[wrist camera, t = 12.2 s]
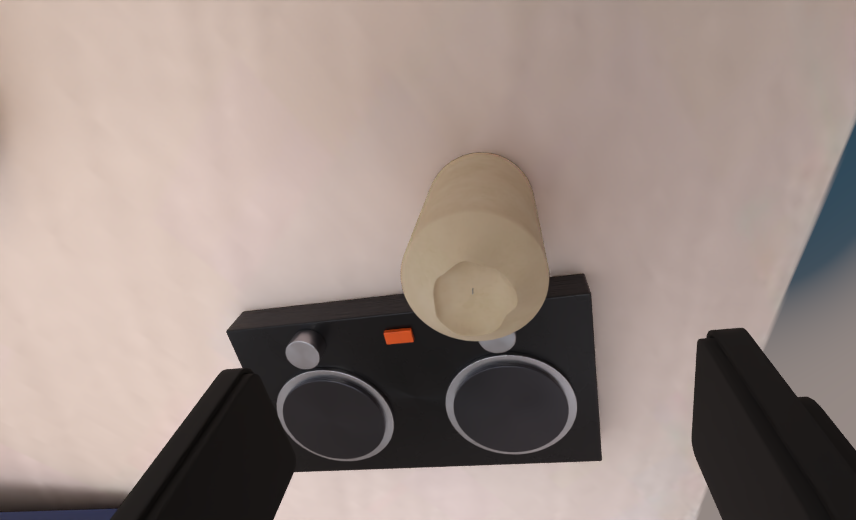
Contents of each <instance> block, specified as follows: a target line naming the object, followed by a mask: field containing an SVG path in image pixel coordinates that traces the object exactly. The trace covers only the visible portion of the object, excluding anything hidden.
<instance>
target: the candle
mask: <svg viewBox="0 0 856 520" xmlns="http://www.w3.org/2000/svg"><path fill="white" fill-rule="evenodd" d="M401 284H402V289H403V292H404V295H405V298H406V300H407V302H408V304H409V305H410V307H411V308H412V310H413V311H414V313H415V314H416V315H417V316H418V317H419V318H420V319H421V320H422V321H423V322H424V323H425V324H427V325H428V326H430V327H431V328H432V329H434V330H436V331H438V332H440V333H442V334H444V335H447V336H449V337H452V338H456V339H460V340H466V341H487V340H494V339H498V338H502V337H504V336H507V335H510V334H512V333H514V332H515V331H517V330H519V329H521V328H522V327H523V326H525V325H526V324H527V323H528V322H529V321H531V320H532V319H533V317H534V316H535V315H536V314H537V313H538V311H539V310H540V308H541V307H542V305H543V303H544V300H545V298H546V295H547V292H548V287H549V269H548V263H547V258H546V253H545V248H544V244H543V239H542V234H541V229H540V224H539V219H538V214H537V210H536V205H535V200H534V195H533V192H532V189H531V186H530V183H529V181H528V179H527V178H526V176H525V175H524V173H523V172H522V171H521V170H520V169H519V168H518V167H517V166H516V165H515V164H514V163H512V162H511V161H509V160H508V159H506V158H504V157H501V156H499V155H495V154H491V153H471V154H467V155H464V156H461V157H459V158H457V159H455V160H453V161H452V162H450V163H449V164H447V165H446V166H445V167H444V168H443V169H442V170H441V171H440V172H439V173H438V175H437V176H436V178H435V179H434V181H433V183H432V185H431V188H430V190H429V192H428V195H427V197H426V200H425V202H424V205H423V207H422V210H421V213H420V215H419V218H418V220H417V223H416V225H415V228H414V230H413V233H412V235H411V238H410V241H409V243H408V246H407V248H406V251H405V253H404V256H403V260H402V264H401Z"/></svg>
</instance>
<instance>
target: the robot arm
mask: <svg viewBox="0 0 856 520" xmlns="http://www.w3.org/2000/svg"><path fill="white" fill-rule="evenodd" d="M692 446H693V451H694V454H695V457H696V460H697V462H698V464H699V467H700V469H701V471H702V474H703V476H704V478H705V480H706V483H707V485H708V487H709V489H710V492H711V494H712V497H713V499H714V501H715V503H716V506H717V508H718V510H719V513H720V515H721V517H722V519H723V520H856V450H855V449H854V448H853V447H852V445H851V444H850V443H849V442H848V440H847V439H846V438H845V437H844V435H843V434H842V433H841V432H840V430H839V429H838V428H837V427H836V425H835V424H834V423H833V421H832V420H831V419H830V418H829V416H828V415H827V414H826V413H825V411H824V410H823V409H822V408H821V407H820V406H819V405H818V404H817V403H816V402H815V401H814V400H813V399H811V398H809V397H797V396H796V395H795V394H794V392H793V391H792V390H791V388H790V387H789V386H788V384H787V383H786V382H785V380H784V379H783V378H782V377H781V375H780V374H779V372H778V371H777V370H776V368H775V367H774V366H773V364H772V363H771V362H770V361H769V359H768V358H767V357H766V355H765V354H764V353H763V351H762V350H761V349H760V347H759V346H758V345H757V343H756V342H755V341H754V339H753V338H752V337H751V335H750V334H749V333H748V332H747V331H746V330H745V329H744V328H733V329H721V330H710V331H709V332H708V334H707V338H704V339H699V340H698V342H697V353H696V371H695V388H694V405H693V422H692ZM295 467H296V455H295V452H294V450H293V448H292V446H291V444H290V441H289V439H288V437H287V435H286V433H285V430H284V428H283V426H282V424H281V422H280V419H279V417H278V415H277V413H276V411H275V408H274V406H273V404H272V402H271V400H270V397H269V395H268V393H267V391H266V389H265V386H264V384H263V382H262V380H261V378H260V376H259V375H258V374H254V372H253V371H252V370H251V369H250V368H238V369H226V370H223V371H222V372H221V373H220V374H219V375H218V376H217V377H216V379H215V380H214V381H213V383H212V384H211V385H210V387H209V388H208V389H207V391H206V392H205V393H204V395H203V396H202V397H201V399H200V400H199V401H198V403H197V404H196V405H195V407H194V408H193V409H192V411H191V412H190V413H189V415H188V416H187V417H186V419H185V420H184V421H183V423H182V424H181V425H180V427H179V428H178V429H177V431H176V432H175V433H174V435H173V436H172V437H171V439H170V440H169V441H168V443H167V444H166V445H165V447H164V448H163V449H162V451H161V452H160V453H159V455H158V456H157V457H156V459H155V460H154V461H153V463H152V464H151V465H150V467H149V468H148V469H147V471H146V472H145V473H144V475H143V476H142V477H141V479H140V480H139V481H138V483H137V484H136V485H135V487H134V488H133V489H132V491H131V492H130V493H129V495H128V496H127V497H126V499H125V500H124V501H123V503H122V504H121V505H120V507H119V508H118V509H117V511H116V512H115V513H114V515H113V516H112V517H111V519H110V520H273V519H274V517H275V514H276V512H277V510H278V508H279V505H280V503H281V501H282V498H283V496H284V494H285V491H286V489H287V487H288V485H289V482H290V480H291V478H292V475H293V473H294V470H295Z"/></svg>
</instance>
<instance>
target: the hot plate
mask: <svg viewBox="0 0 856 520" xmlns="http://www.w3.org/2000/svg"><path fill="white" fill-rule="evenodd" d="M226 332H227V335H228V337H229V339H230V341H231V343H232V346H233V348H234V350H235V352H236V355H237V357H238V359H239V361H240V363H241V366H242V368H250V369H251V370H252V371H253V372H254V374H258V375H259V376H260V378H261V380H262V382H263V384H264V386H265V389H266V391H267V393H268V395H269V397H270V400H271V402H272V404H273V406H274V408H275V411H276V413H277V415H278V417H279V419H280V422H281V424H282V426H283V428H284V430H285V433H286V435H287V437H288V439H289V441H290V444H291V446H292V448H293V450H294V452H295V455H296V467H295V470H294V472H311V471H339V470H366V469H393V468H420V467H448V466H475V465H502V464H529V463H557V462H584V461H602V452H601V437H600V422H599V406H598V391H597V376H596V361H595V345H594V330H593V315H592V300H591V292H590V289H589V286H588V283H587V280H586V277H585V275H584V274H577V275H568V276H559V277H550V278H549V287H548V292H547V295H546V298H545V300H544V303H543V305H542V307H541V308H540V310H539V311H538V313H537V314H536V315H535V316H534V317H533V319H532V320H531V321H529V322H528V323H527V324H526V325H525V326H523V327H522V328H521V329H519V330H517V331H515V332H514V333H512V334H510V335H507V336H504V337H502V338H498V339H494V340H487V341H466V340H460V339H456V338H452V337H449V336H447V335H444V334H442V333H440V332H438V331H436V330H434V329H432V328H431V327H430V326H428V325H427V324H425V323H424V322H423V321H422V320H421V319H420V318H419V317H418V316H417V315H416V314H415V313H414V311H413V310H412V308H411V307H410V305H409V304H408V302H407V300H406V298H405V295H404V294H398V295H390V296H381V297H372V298H363V299H354V300H345V301H336V302H327V303H318V304H309V305H300V306H291V307H282V308H273V309H264V310H255V311H247V312H242V314H241V315H240V316H239V317H238V318H237V319H236V320H235V322H234V323H233V324H232V325H231V326H230V327H229V329H228V330H227V331H226Z"/></svg>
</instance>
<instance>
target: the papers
mask: <svg viewBox="0 0 856 520" xmlns="http://www.w3.org/2000/svg"><path fill="white" fill-rule="evenodd" d="M116 511H117V509H89V510H57V511H25V512H0V520H110V519H111V517H112V516H113V515H114V513H115V512H116Z"/></svg>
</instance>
